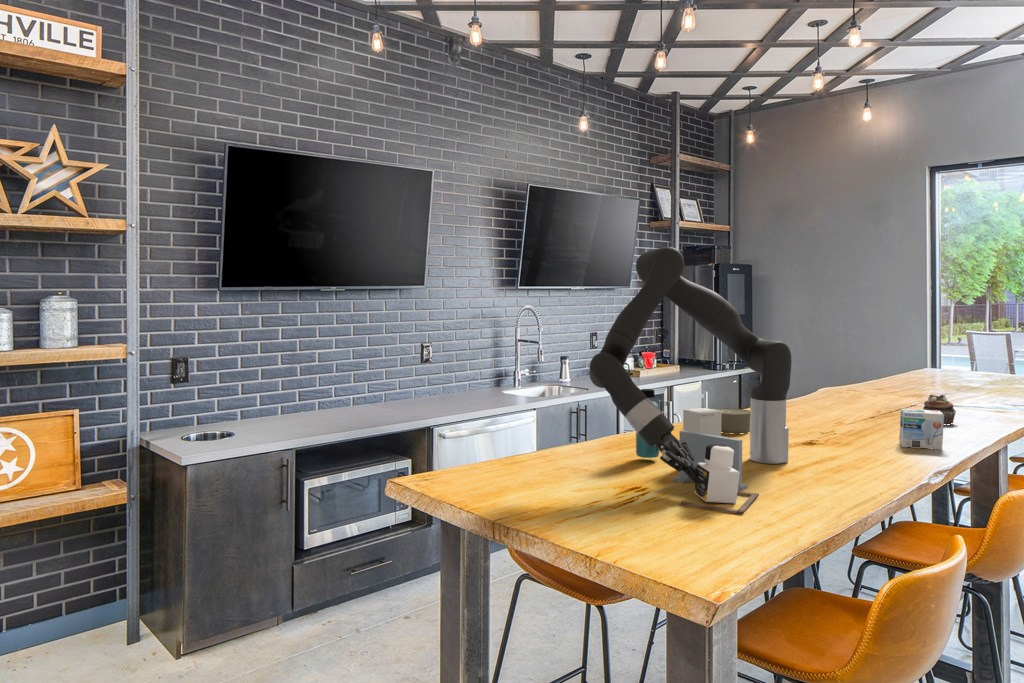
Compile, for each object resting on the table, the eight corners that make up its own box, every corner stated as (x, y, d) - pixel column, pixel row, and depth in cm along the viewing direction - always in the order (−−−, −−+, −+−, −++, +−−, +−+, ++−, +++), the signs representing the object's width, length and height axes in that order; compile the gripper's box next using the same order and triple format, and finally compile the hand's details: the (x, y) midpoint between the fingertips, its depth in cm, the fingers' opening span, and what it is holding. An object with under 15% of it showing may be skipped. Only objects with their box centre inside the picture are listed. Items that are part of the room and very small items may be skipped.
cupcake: (930, 425, 236) (931, 396, 235) (918, 420, 245) (919, 393, 245) (960, 426, 234) (961, 397, 234) (947, 421, 244) (948, 393, 243)
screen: (672, 480, 169) (673, 432, 168) (688, 475, 174) (688, 428, 173) (732, 493, 157) (733, 442, 156) (747, 487, 162) (748, 437, 161)
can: (755, 435, 223) (756, 414, 223) (718, 435, 224) (719, 414, 223) (743, 427, 235) (744, 408, 235) (708, 428, 235) (709, 408, 235)
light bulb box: (901, 447, 203) (902, 411, 202) (898, 443, 209) (899, 408, 208) (943, 450, 199) (945, 413, 198) (939, 445, 205) (940, 410, 204)
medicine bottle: (693, 492, 156) (699, 441, 155) (723, 494, 157) (729, 443, 156) (705, 502, 149) (711, 447, 148) (736, 504, 150) (742, 450, 149)
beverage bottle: (659, 463, 186) (660, 390, 184) (634, 462, 187) (635, 390, 186) (659, 458, 192) (659, 387, 191) (635, 457, 193) (635, 387, 192)
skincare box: (698, 472, 176) (698, 412, 175) (680, 467, 182) (681, 409, 181) (722, 468, 180) (723, 410, 179) (704, 463, 186) (705, 406, 185)
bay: (680, 505, 149) (680, 502, 149) (700, 488, 162) (700, 485, 162) (742, 515, 142) (742, 512, 142) (758, 496, 155) (758, 493, 155)
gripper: (650, 416, 153) (703, 478, 147) (669, 408, 164) (720, 465, 158) (627, 437, 156) (679, 498, 150) (648, 427, 167) (697, 484, 161)
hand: (700, 481), depth 154 cm, fingers closed
